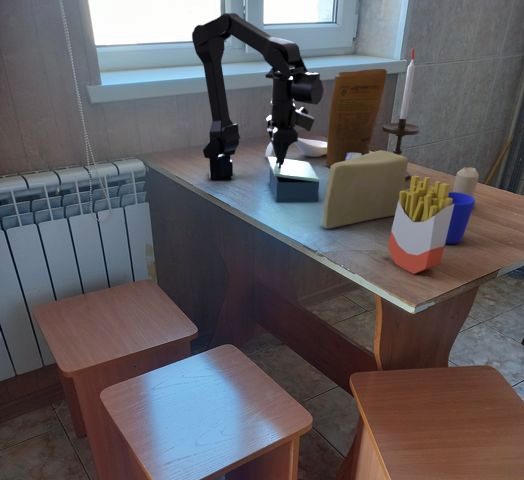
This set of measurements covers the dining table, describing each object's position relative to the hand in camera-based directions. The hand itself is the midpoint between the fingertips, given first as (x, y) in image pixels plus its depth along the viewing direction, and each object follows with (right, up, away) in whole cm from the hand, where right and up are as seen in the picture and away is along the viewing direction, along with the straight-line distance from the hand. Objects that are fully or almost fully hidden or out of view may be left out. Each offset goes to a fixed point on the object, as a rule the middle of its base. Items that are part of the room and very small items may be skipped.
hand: (279, 161), depth 141 cm
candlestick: (+36, +2, +19) cm, 41 cm away
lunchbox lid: (+4, -2, +2) cm, 4 cm away
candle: (+49, -13, -2) cm, 51 cm away
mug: (+36, -26, -21) cm, 50 cm away
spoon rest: (+8, +15, +36) cm, 40 cm away
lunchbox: (+4, -7, +5) cm, 9 cm away
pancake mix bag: (+24, +9, +29) cm, 39 cm away
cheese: (+19, -19, -11) cm, 29 cm away
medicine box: (+21, -4, +10) cm, 24 cm away
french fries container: (+27, -35, -33) cm, 55 cm away
